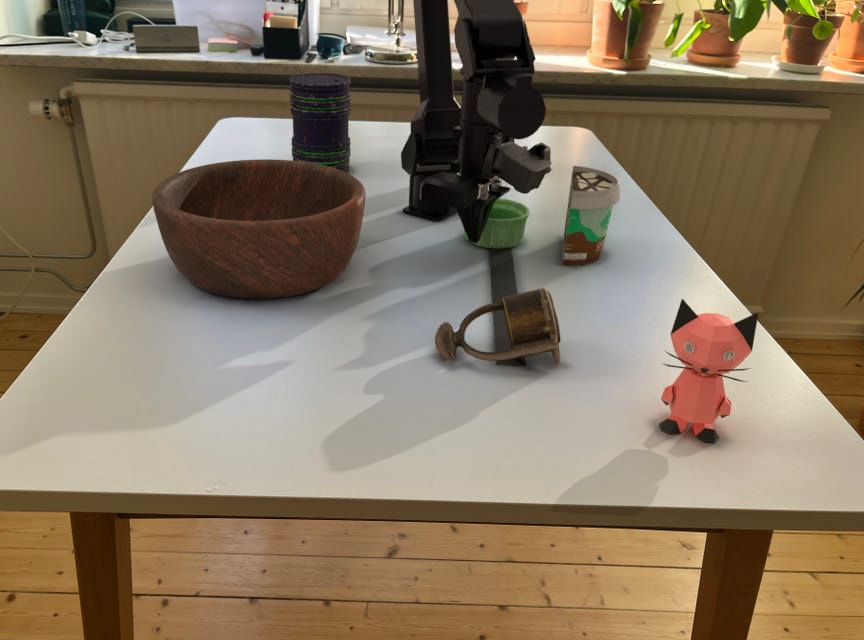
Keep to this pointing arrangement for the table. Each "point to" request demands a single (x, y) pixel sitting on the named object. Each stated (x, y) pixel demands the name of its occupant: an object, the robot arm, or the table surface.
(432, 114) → the robot arm
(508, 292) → the dark grey flat bar
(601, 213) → the food container
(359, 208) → the wooden bowl
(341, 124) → the storage jar
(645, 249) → the table surface
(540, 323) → the bronze metal cylindrical vessel
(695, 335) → the cat figurine
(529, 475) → the table surface
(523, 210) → the ramekin
